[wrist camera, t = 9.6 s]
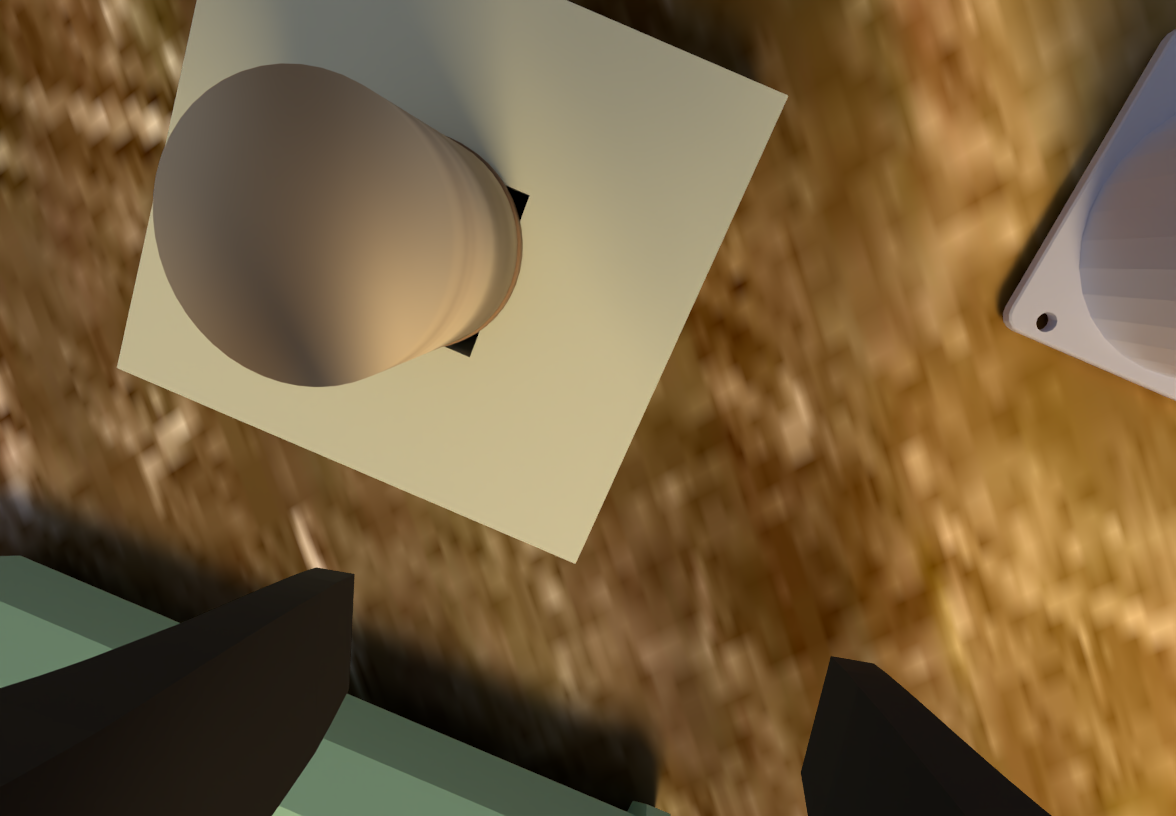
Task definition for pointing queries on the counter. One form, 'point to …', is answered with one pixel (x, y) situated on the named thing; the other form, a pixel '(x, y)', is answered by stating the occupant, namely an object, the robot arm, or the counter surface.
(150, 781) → the robot arm
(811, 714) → the counter surface
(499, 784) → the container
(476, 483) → the board
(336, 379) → the peg
